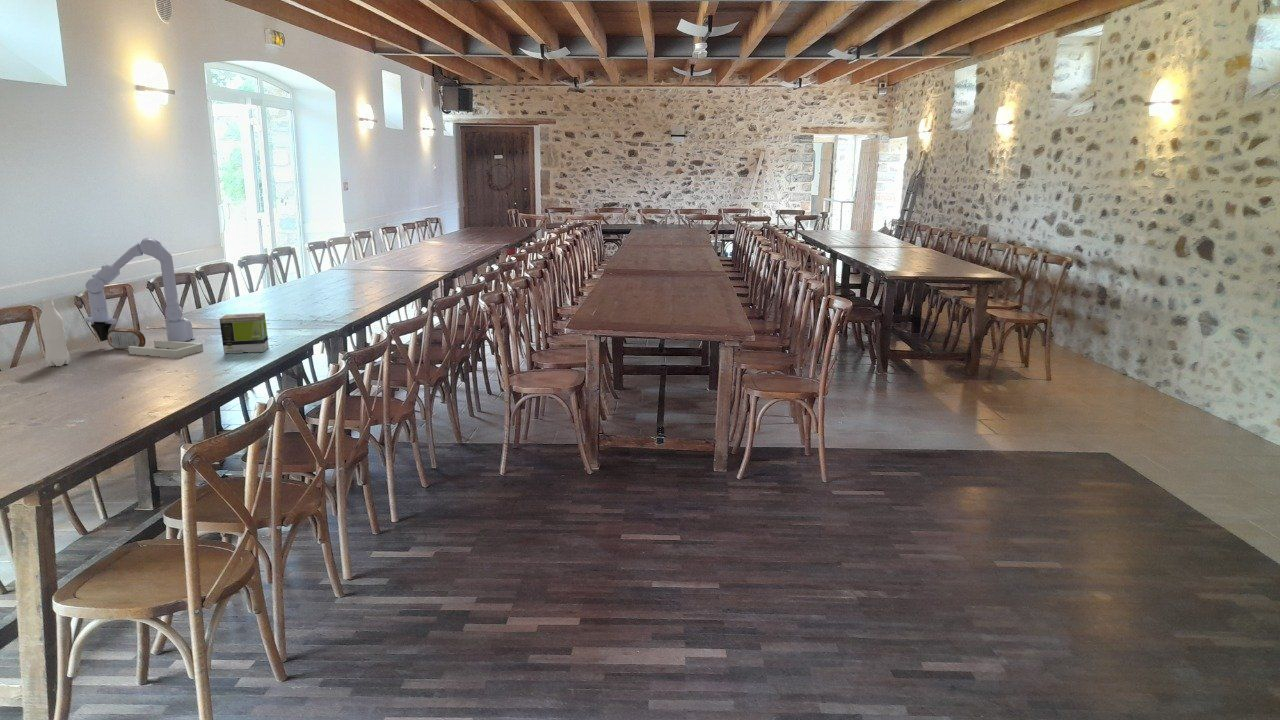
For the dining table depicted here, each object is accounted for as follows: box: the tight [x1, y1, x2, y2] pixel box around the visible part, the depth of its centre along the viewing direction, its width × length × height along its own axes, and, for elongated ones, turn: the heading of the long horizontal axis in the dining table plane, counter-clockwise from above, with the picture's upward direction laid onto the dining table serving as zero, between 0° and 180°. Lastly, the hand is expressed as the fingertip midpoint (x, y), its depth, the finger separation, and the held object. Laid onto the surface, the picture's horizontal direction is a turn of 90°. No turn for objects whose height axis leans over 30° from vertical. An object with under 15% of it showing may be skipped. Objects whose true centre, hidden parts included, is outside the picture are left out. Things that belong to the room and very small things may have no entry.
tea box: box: [218, 312, 270, 355], centre depth 308 cm, size 15×10×15 cm, turn 105°
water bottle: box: [38, 298, 71, 367], centre depth 280 cm, size 7×7×25 cm
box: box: [128, 339, 204, 359], centre depth 304 cm, size 13×23×3 cm, turn 76°
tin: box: [106, 327, 147, 350], centre depth 308 cm, size 15×3×8 cm, turn 84°
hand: (103, 340), depth 311 cm, fingers closed
